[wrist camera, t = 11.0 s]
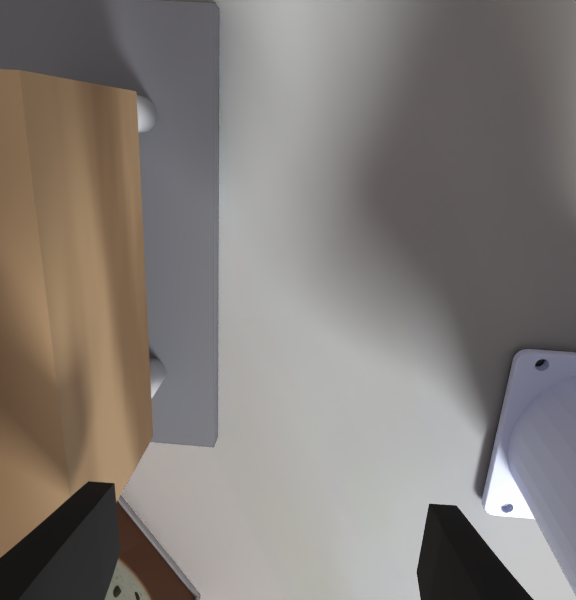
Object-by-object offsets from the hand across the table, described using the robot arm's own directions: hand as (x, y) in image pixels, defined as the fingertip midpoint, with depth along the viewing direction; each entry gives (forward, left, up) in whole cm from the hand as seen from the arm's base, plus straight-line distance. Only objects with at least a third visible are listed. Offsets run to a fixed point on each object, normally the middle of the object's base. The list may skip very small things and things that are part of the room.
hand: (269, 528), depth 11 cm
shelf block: (+7, -3, -7) cm, 10 cm away
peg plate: (+7, -4, -10) cm, 13 cm away
